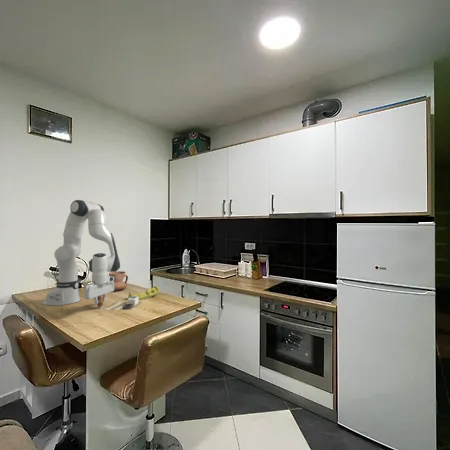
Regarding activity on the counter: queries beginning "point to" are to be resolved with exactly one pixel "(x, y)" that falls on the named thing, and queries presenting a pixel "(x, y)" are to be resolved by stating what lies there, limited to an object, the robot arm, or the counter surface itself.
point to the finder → (133, 300)
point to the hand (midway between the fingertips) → (100, 302)
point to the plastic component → (146, 293)
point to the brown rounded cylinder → (100, 301)
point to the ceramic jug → (119, 280)
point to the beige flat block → (122, 306)
